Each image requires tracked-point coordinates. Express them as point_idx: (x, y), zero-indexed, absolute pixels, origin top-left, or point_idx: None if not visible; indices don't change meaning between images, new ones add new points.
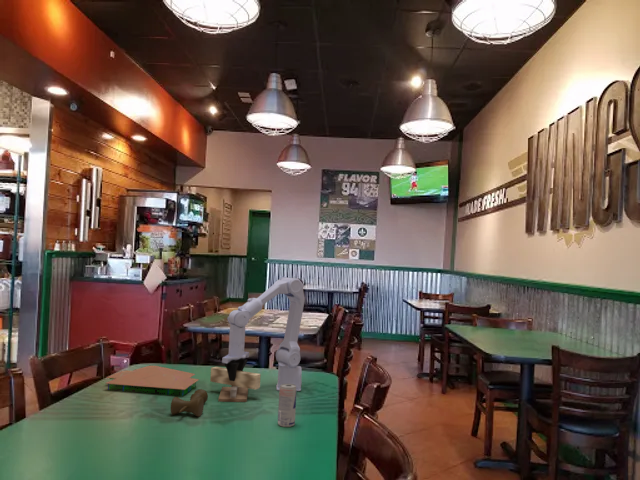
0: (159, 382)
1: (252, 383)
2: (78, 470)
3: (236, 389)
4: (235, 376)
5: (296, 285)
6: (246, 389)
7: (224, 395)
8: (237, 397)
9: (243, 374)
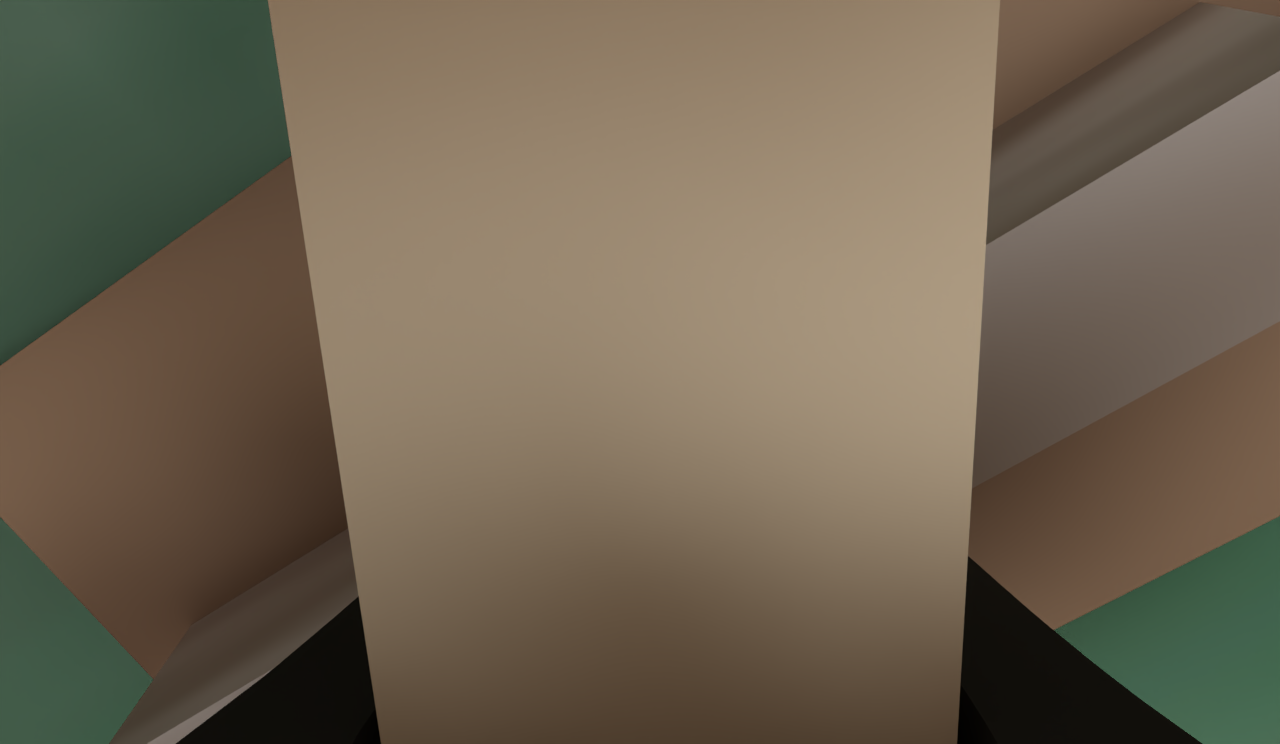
0: None
1: None
2: None
3: (1054, 178)
4: None
5: None
6: (146, 326)
7: (1099, 463)
8: (1092, 6)
9: (968, 134)
